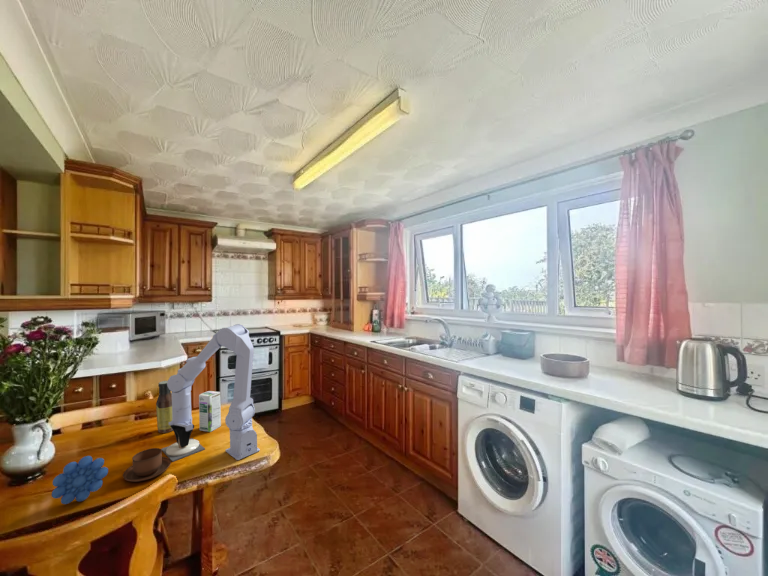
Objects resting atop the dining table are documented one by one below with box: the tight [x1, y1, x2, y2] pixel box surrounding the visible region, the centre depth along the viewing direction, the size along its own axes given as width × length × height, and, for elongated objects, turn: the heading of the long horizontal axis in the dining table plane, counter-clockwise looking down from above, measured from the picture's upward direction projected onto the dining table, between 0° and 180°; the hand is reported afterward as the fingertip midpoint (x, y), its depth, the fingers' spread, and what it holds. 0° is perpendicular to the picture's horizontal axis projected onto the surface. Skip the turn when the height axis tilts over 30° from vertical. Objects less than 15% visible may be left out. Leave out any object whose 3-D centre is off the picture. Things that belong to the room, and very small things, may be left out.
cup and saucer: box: [122, 447, 172, 483], centre depth 99 cm, size 12×12×6 cm
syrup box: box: [198, 390, 222, 433], centre depth 129 cm, size 6×6×14 cm
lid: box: [165, 437, 200, 456], centre depth 113 cm, size 10×10×5 cm
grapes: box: [51, 455, 109, 505], centre depth 88 cm, size 12×7×12 cm, turn 119°
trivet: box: [160, 437, 206, 463], centre depth 113 cm, size 12×10×1 cm
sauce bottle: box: [155, 380, 173, 434], centre depth 128 cm, size 6×6×20 cm
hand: (182, 444), depth 113 cm, fingers closed on lid, 3 cm apart
